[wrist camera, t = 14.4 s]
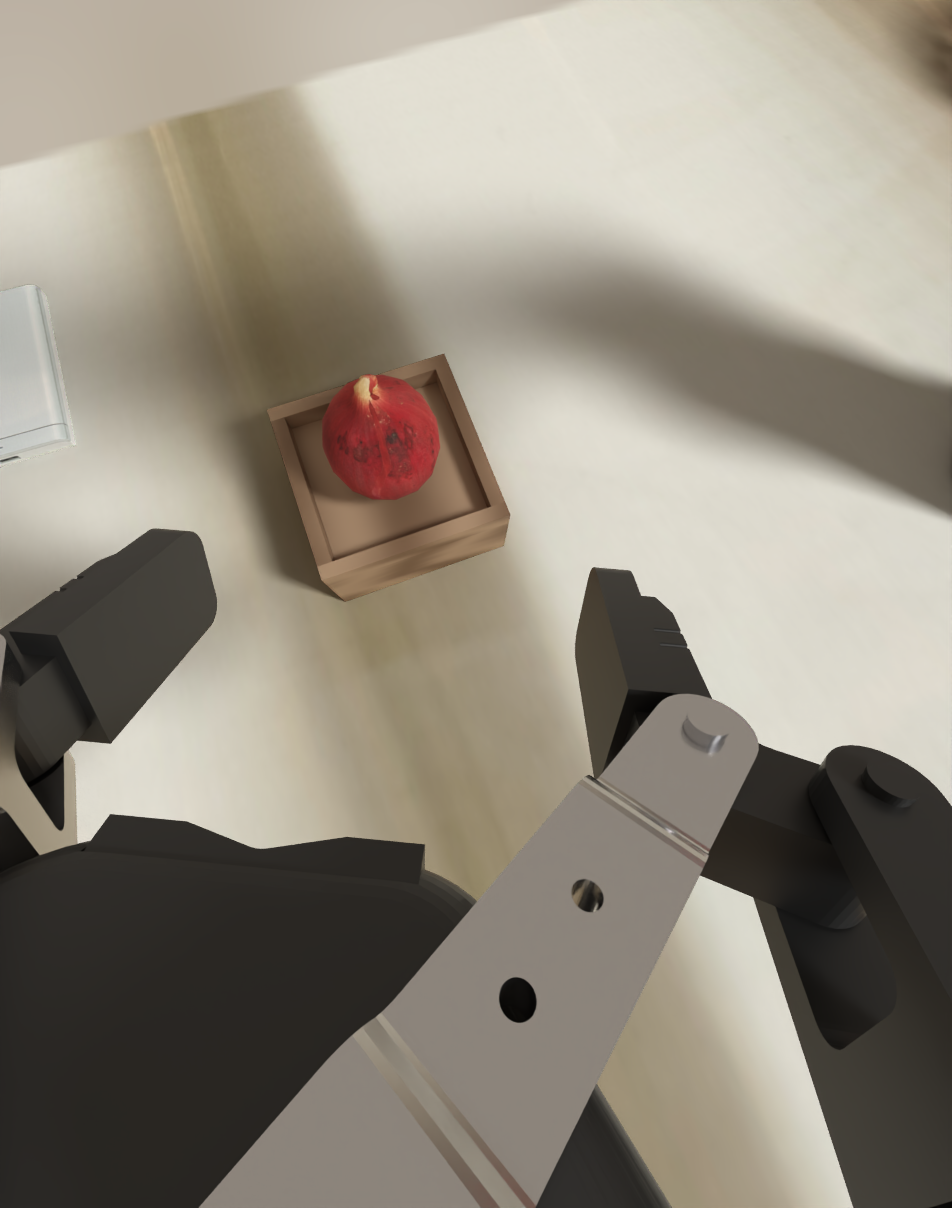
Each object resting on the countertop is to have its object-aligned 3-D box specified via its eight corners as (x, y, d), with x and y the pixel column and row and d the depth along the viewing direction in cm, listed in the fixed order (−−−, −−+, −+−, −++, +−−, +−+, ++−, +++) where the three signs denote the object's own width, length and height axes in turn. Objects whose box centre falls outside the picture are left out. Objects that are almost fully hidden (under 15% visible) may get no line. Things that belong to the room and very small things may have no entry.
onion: (460, 495, 29) (457, 415, 21) (367, 538, 28) (329, 471, 20) (416, 413, 30) (398, 307, 22) (326, 453, 29) (274, 358, 21)
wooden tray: (447, 406, 34) (444, 353, 29) (503, 545, 32) (510, 514, 27) (297, 455, 34) (266, 409, 28) (345, 601, 32) (321, 580, 26)
